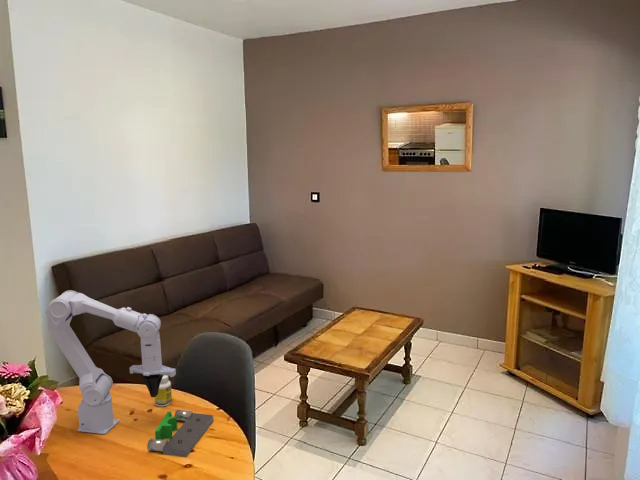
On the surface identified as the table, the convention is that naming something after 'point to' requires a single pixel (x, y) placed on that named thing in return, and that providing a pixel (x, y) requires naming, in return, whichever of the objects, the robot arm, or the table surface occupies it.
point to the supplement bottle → (164, 393)
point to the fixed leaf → (183, 434)
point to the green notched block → (166, 427)
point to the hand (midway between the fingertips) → (154, 395)
